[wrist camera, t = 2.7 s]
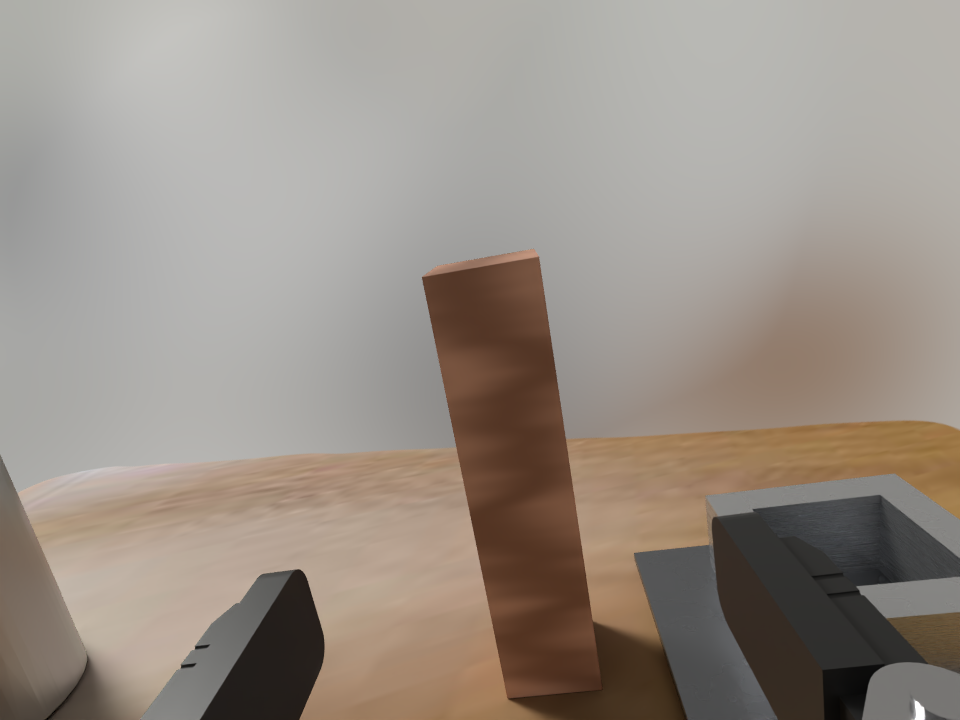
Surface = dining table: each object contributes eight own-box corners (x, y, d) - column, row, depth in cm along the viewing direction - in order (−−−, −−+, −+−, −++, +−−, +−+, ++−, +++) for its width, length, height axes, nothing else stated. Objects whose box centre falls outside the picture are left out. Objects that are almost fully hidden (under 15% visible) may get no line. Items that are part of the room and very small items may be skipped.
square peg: (507, 698, 23) (421, 277, 18) (508, 628, 27) (437, 265, 22) (602, 689, 22) (538, 256, 18) (589, 619, 26) (533, 248, 22)
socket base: (705, 790, 19) (694, 673, 17) (635, 568, 30) (626, 488, 29) (1239, 762, 17) (1270, 628, 15) (946, 536, 28) (950, 449, 27)
